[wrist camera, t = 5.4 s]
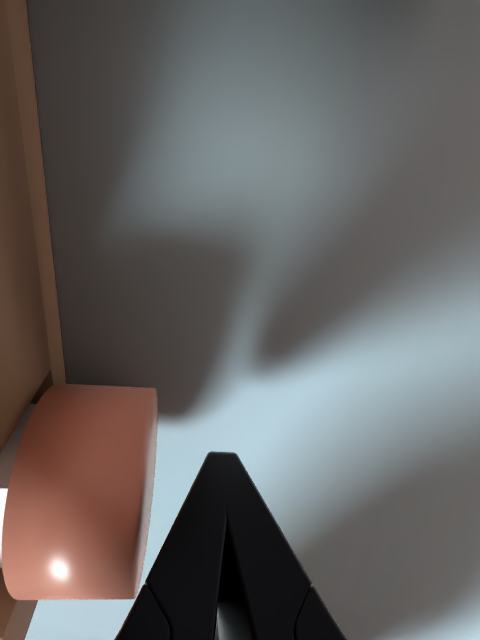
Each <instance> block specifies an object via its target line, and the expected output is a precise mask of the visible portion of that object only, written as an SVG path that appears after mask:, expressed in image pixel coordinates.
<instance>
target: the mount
mask: <svg viewBox="0 0 480 640" xmlns="http://www.w3.org/2000/svg"><path fill="white" fill-rule="evenodd" d="M59 383H63V384H66V376H65V367H64V357H63V348H62V338H61V329H60V319H59V309H58V300H57V290H56V281H55V271H54V262H53V252H52V243H51V233H50V224H49V214H48V205H47V195H46V186H45V176H44V167H43V157H42V148H41V138H40V129H39V119H38V109H37V100H36V90H35V81H34V71H33V62H32V52H31V43H30V33H29V24H28V14H27V5H26V0H0V452H1V450H2V449H3V447H4V445H5V444H6V442H7V440H8V439H9V437H10V435H11V434H12V432H13V430H14V429H15V427H16V425H17V424H18V422H19V420H20V419H21V417H22V415H23V414H24V412H25V411H26V409H27V407H28V406H29V404H37V403H38V401H39V400H40V398H41V397H42V395H43V394H44V393H45V392H46V391H47V390H48V389H49V388H50V387H51V386H53V385H55V384H59ZM37 602H38V600H16V599H14V598H13V597H11V595H10V594H9V592H8V590H7V588H6V585H5V581H4V576H3V570H2V568H0V640H24V639H25V636H26V634H27V631H28V628H29V625H30V622H31V619H32V616H33V613H34V611H35V608H36V605H37Z"/></svg>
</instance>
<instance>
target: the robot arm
mask: <svg viewBox="0 0 480 640" xmlns="http://www.w3.org/2000/svg"><path fill="white" fill-rule="evenodd" d="M311 585H312V583H311V581H310V579H309V577H308V576H307V574H306V572H305V570H304V569H303V567H302V565H301V564H300V562H299V560H298V558H297V557H296V555H295V553H294V552H293V550H292V548H291V546H290V545H289V543H288V541H287V539H286V538H285V536H284V534H283V533H282V531H281V529H280V527H279V526H278V524H277V522H276V521H275V519H274V517H273V515H272V514H271V512H270V510H269V509H268V507H267V505H266V503H265V502H264V500H263V498H262V496H261V495H260V493H259V491H258V490H257V488H256V486H255V484H254V483H253V481H252V479H251V478H250V476H249V474H248V472H247V471H246V469H245V467H244V466H243V464H242V462H241V460H240V459H239V457H238V455H237V454H236V453H233V452H209V453H208V454H207V456H206V458H205V460H204V462H203V464H202V466H201V468H200V471H199V473H198V475H197V477H196V479H195V481H194V483H193V485H192V487H191V489H190V491H189V493H188V495H187V497H186V499H185V501H184V503H183V505H182V507H181V509H180V511H179V513H178V515H177V517H176V519H175V521H174V524H173V526H172V528H171V530H170V532H169V534H168V536H167V538H166V540H165V542H164V544H163V546H162V548H161V550H160V552H159V554H158V556H157V558H156V560H155V562H154V564H153V566H152V568H151V570H150V572H149V575H148V577H147V579H146V581H145V584H144V585H143V586H142V588H141V590H140V592H139V594H138V596H137V598H136V600H135V602H134V604H133V606H132V608H131V610H130V612H129V614H128V616H127V618H126V620H125V621H124V623H123V625H122V627H121V629H120V631H119V633H118V634H117V636H116V638H115V639H114V640H214V638H215V629H216V621H217V622H218V634H219V640H347V639H346V638H345V636H344V635H343V634H342V632H341V631H340V629H339V627H338V626H337V624H336V622H335V621H334V619H333V618H332V616H331V614H330V613H329V611H328V609H327V608H326V606H325V605H324V603H323V601H322V599H321V598H320V596H319V594H318V593H317V591H316V589H315V587H314V586H311Z"/></svg>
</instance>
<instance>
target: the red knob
mask: <svg viewBox="0 0 480 640" xmlns="http://www.w3.org/2000/svg"><path fill="white" fill-rule="evenodd" d="M157 426H158V400H157V391H156V388H148V387H127V386H105V385H84V384H63V383H59V384H55V385H53V386H51V387H50V388H49V389H48V390H47V391H46V392H45V393H44V394H43V395H42V397H41V398H40V400H39V401H38V403H37V404H29V406H28V407H27V409H26V411H25V412H24V414H23V415H22V417H21V419H20V420H19V422H18V424H17V425H16V427H15V429H14V430H13V432H12V434H11V435H10V437H9V439H8V440H7V442H6V444H5V445H4V447H3V449H2V450H1V452H0V568H2V570H3V576H4V581H5V585H6V588H7V590H8V592H9V594H10V595H11V597H13V598H14V599H16V600H97V599H135V597H136V595H137V592H138V589H139V585H140V580H141V576H142V570H143V565H144V559H145V552H146V546H147V538H148V531H149V523H150V515H151V506H152V496H153V486H154V475H155V462H156V447H157Z"/></svg>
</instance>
